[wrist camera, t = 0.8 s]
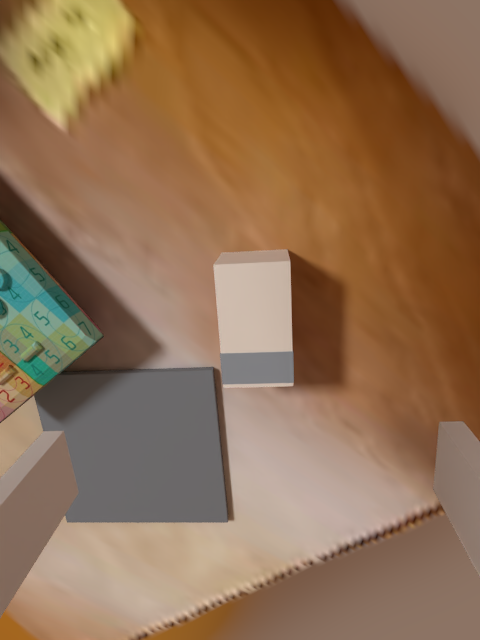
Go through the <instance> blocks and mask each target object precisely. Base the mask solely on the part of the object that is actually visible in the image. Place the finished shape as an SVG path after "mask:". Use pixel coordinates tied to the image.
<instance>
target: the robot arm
mask: <svg viewBox="0 0 480 640" xmlns="http://www.w3.org/2000/svg"><path fill="white" fill-rule="evenodd" d="M433 490H434V492H435V494H436V496H437V498H438V500H439V501H440V503H441V505H442V507H443V509H444V511H445V513H446V515H447V517H448V518H449V520H450V522H451V524H452V526H453V528H454V530H455V532H456V533H457V536H458V537H459V539H460V541H461V543H462V545H463V547H464V549H465V551H466V553H467V554H468V556H469V558H470V560H471V562H472V564H473V566H474V568H475V569H476V571H477V573H478V575H479V577H480V441H479V440H478V439H477V438H476V437H475V435H474V434H473V433H472V432H471V430H470V429H469V428H468V427H467V425H466V424H465V423H464V422H463V421H457V422H439V430H438V441H437V453H436V464H435V475H434V487H433ZM78 493H79V492H78V488H77V483H76V479H75V475H74V471H73V467H72V463H71V459H70V455H69V451H68V446H67V442H66V438H65V434H64V431H44V432H43V433H42V434H41V435H40V436H39V437H38V438H37V439H36V440H35V441H34V442H33V443H32V445H31V446H30V447H29V448H28V449H27V450H26V451H25V452H24V453H23V454H22V455H21V456H20V457H19V459H18V460H17V461H16V462H15V463H14V464H13V465H12V466H11V467H10V468H9V469H8V470H7V472H6V473H5V474H4V475H3V476H2V477H1V478H0V617H1V615H2V614H3V613H4V611H5V609H6V608H7V606H8V605H9V603H10V601H11V600H12V598H13V597H14V595H15V594H16V592H17V590H18V589H19V587H20V586H21V584H22V582H23V581H24V579H25V578H26V576H27V574H28V573H29V571H30V570H31V568H32V566H33V565H34V563H35V562H36V560H37V558H38V557H39V555H40V554H41V552H42V550H43V549H44V547H45V546H46V544H47V543H48V541H49V539H50V538H51V536H52V535H53V533H54V531H55V530H56V528H57V527H58V525H59V523H60V522H61V520H62V519H63V517H64V515H65V514H66V512H67V511H68V509H69V507H70V506H71V504H72V503H73V501H74V499H75V498H76V496H77V495H78Z"/></svg>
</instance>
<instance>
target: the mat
mask: <svg viewBox="0 0 480 640" xmlns="http://www.w3.org/2000/svg"><path fill="white" fill-rule="evenodd" d="M34 397H35V400H36V404H37V408H38V412H39V416H40V420H41V423H42V427H43V431H64V434H65V438H66V442H67V446H68V451H69V455H70V459H71V463H72V467H73V471H74V475H75V479H76V483H77V488H78V492H79V493H78V495H77V496H76V498H75V499H74V501H73V503H72V504H71V506H70V507H69V509H68V511H67V512H66V514H65V516H66V520H67V522H228V509H227V499H226V489H225V479H224V469H223V459H222V449H221V439H220V429H219V419H218V409H217V399H216V389H215V379H214V369H213V367H202V368H173V369H143V370H114V371H84V372H61V373H60V374H59V375H57V376H56V377H55V378H54V379H53V380H51V381H50V382H49V383H48V384H47V385H45V386H44V387H43V388H42V389H41V390H39V391H38V392H37V393H36V394H35V395H34Z"/></svg>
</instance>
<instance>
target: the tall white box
mask: <svg viewBox="0 0 480 640" xmlns="http://www.w3.org/2000/svg"><path fill="white" fill-rule="evenodd" d="M213 266H214V277H215V289H216V301H217V313H218V325H219V337H220V349H221V353H220V358H221V370H222V382H223V384H224V388H239V387H283V386H293V383H294V361H293V351H292V308H291V266H290V258H289V254H288V250H287V249H284V250H265V251H246V252H226V253H221V255H220V256H219V257H218V259H217V260H216V262H215V263H214V265H213Z"/></svg>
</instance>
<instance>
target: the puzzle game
mask: <svg viewBox="0 0 480 640" xmlns="http://www.w3.org/2000/svg"><path fill="white" fill-rule="evenodd" d="M103 337H104V336H103V334H102V332H101V330H100V328H99V327H98V326H97V325H96V324H95V323H94V322H93V321H92V320H91V318H90V317H89V316H88V315H87V314H86V313H85V312H84V311H83V310H82V309H81V308H80V306H79V305H78V304H77V303H76V302H75V301H74V300H73V299H72V298H71V297H70V295H69V294H68V293H67V292H66V291H65V290H64V289H63V288H62V287H61V286H60V284H59V283H58V282H57V281H56V280H55V279H54V278H53V277H52V276H51V275H50V273H49V272H48V271H47V270H46V269H45V268H44V267H43V266H42V265H41V264H40V263H39V261H38V260H37V259H36V258H35V257H34V256H33V255H32V254H31V253H30V252H29V250H28V249H27V248H26V247H25V246H24V245H23V244H22V243H21V242H20V241H19V239H18V238H17V237H16V236H15V235H14V234H13V233H12V232H11V231H10V230H9V229H8V227H7V226H6V225H5V224H4V223H3V222H2V221H1V220H0V423H1V422H2V421H4V420H5V419H6V418H7V417H9V416H10V415H11V414H12V413H13V412H14V411H16V410H17V409H18V408H19V407H20V406H22V405H23V404H24V403H25V402H26V401H28V400H29V399H30V398H31V397H32V396H34V395H35V394H36V393H37V392H38V391H39V390H41V389H42V388H43V387H44V386H45V385H47V384H48V383H49V382H50V381H51V380H53V379H54V378H55V377H56V376H57V375H59V374H60V373H61V372H62V371H63V370H64V369H66V368H67V367H68V366H69V365H70V364H72V363H73V362H74V361H75V360H76V359H78V358H79V357H80V356H81V355H82V354H84V353H85V352H86V351H87V350H88V349H90V348H91V347H92V346H93V345H94V344H95V343H97V342H98V341H99V340H100V339H101V338H103Z"/></svg>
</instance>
